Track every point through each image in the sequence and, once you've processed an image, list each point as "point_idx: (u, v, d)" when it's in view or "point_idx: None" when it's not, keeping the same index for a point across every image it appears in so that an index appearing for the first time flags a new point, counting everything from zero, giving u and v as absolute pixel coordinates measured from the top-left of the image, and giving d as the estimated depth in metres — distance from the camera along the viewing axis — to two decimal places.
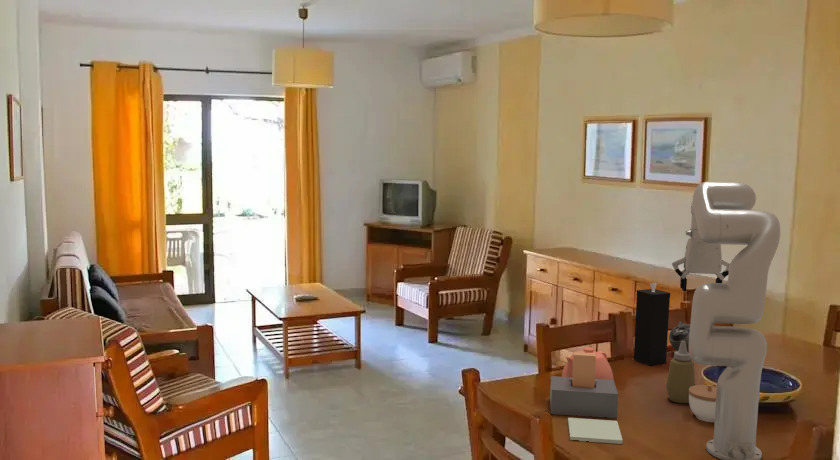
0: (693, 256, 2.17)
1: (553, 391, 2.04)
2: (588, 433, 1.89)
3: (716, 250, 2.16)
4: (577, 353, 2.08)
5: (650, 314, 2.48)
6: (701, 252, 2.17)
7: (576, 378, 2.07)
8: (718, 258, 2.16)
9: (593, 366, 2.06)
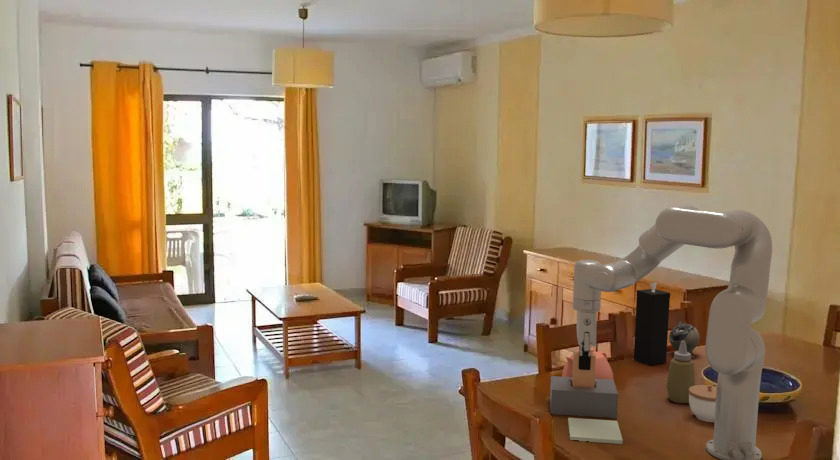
0: None
1: (553, 391, 2.04)
2: (588, 433, 1.89)
3: None
4: (577, 353, 2.08)
5: (650, 314, 2.48)
6: None
7: (576, 378, 2.07)
8: None
9: (593, 366, 2.06)
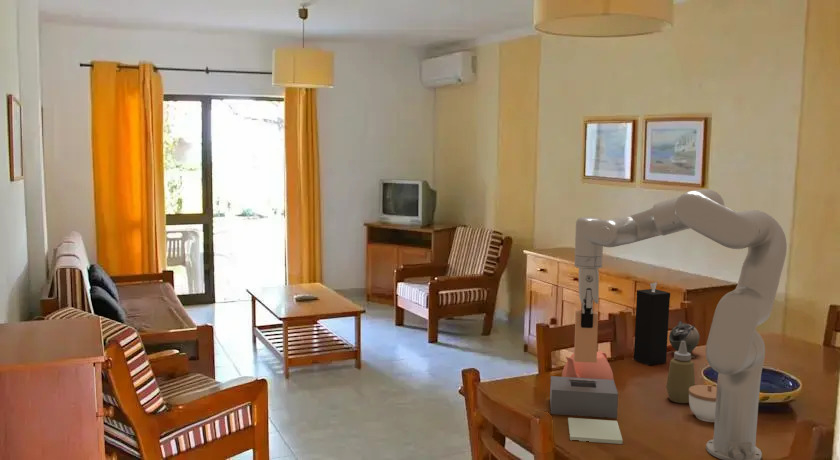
0: None
1: (553, 391, 2.04)
2: (588, 433, 1.89)
3: None
4: (579, 311, 2.06)
5: (650, 314, 2.48)
6: None
7: (578, 337, 2.05)
8: None
9: (595, 324, 2.04)
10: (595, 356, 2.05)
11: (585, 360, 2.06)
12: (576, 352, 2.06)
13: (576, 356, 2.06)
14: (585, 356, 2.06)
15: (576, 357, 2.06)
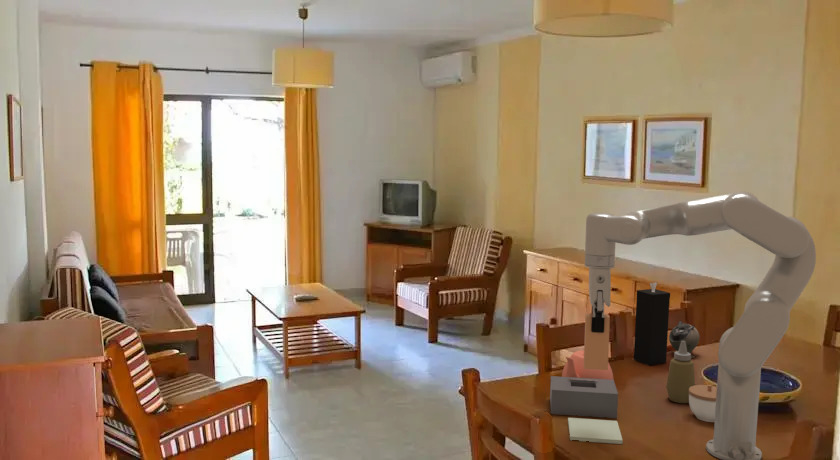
0: None
1: (553, 391, 2.04)
2: (588, 433, 1.89)
3: None
4: (589, 315, 1.91)
5: (650, 314, 2.48)
6: None
7: (588, 342, 1.90)
8: None
9: (607, 328, 1.89)
10: (606, 363, 1.90)
11: (595, 367, 1.91)
12: (586, 358, 1.91)
13: (586, 363, 1.91)
14: (596, 363, 1.91)
15: (586, 364, 1.91)
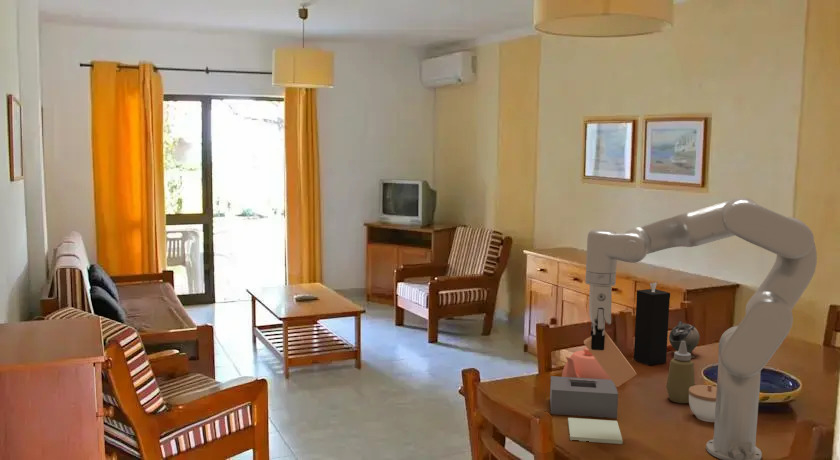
0: None
1: (553, 391, 2.04)
2: (588, 433, 1.89)
3: None
4: (587, 340, 1.90)
5: (650, 314, 2.48)
6: None
7: (603, 363, 1.88)
8: None
9: (609, 341, 1.87)
10: (631, 369, 1.87)
11: (625, 379, 1.88)
12: (612, 378, 1.88)
13: (615, 381, 1.88)
14: (623, 376, 1.88)
15: (615, 382, 1.88)
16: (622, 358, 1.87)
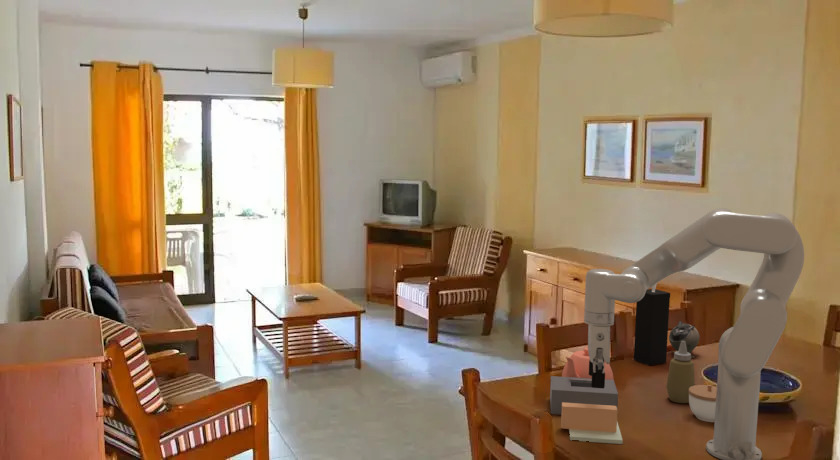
0: None
1: (553, 391, 2.04)
2: (588, 433, 1.89)
3: None
4: (561, 422, 1.94)
5: (650, 314, 2.48)
6: None
7: (588, 427, 1.91)
8: None
9: (574, 409, 1.91)
10: (610, 410, 1.90)
11: (614, 421, 1.90)
12: (605, 429, 1.90)
13: (610, 430, 1.90)
14: (610, 420, 1.90)
15: (611, 430, 1.90)
16: (595, 410, 1.90)
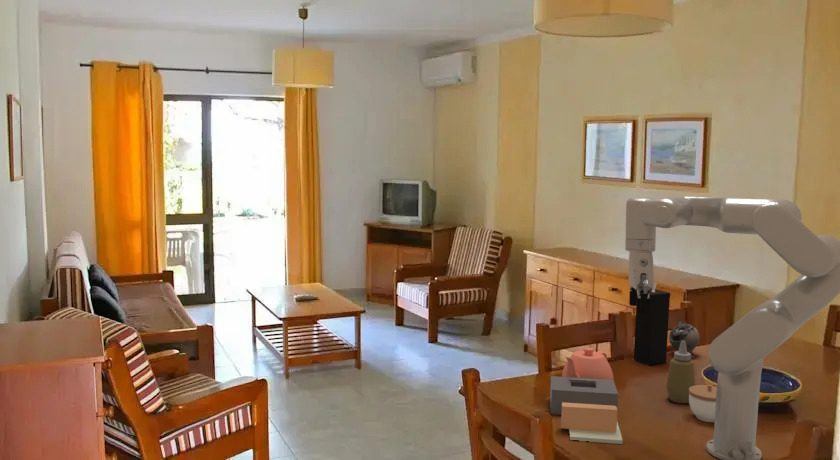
0: None
1: (553, 391, 2.04)
2: (588, 433, 1.89)
3: None
4: (561, 422, 1.94)
5: (650, 314, 2.48)
6: None
7: (588, 427, 1.91)
8: None
9: (574, 409, 1.91)
10: (610, 410, 1.90)
11: (614, 421, 1.90)
12: (605, 429, 1.90)
13: (610, 430, 1.90)
14: (610, 420, 1.90)
15: (611, 430, 1.90)
16: (595, 410, 1.90)
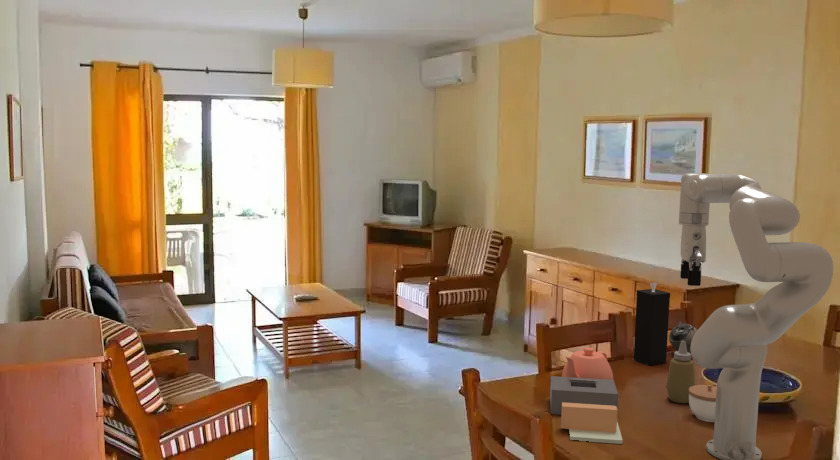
0: None
1: (553, 391, 2.04)
2: (588, 433, 1.89)
3: None
4: (561, 422, 1.94)
5: (650, 314, 2.48)
6: None
7: (588, 427, 1.91)
8: None
9: (574, 409, 1.91)
10: (610, 410, 1.90)
11: (614, 421, 1.90)
12: (605, 429, 1.90)
13: (610, 430, 1.90)
14: (610, 420, 1.90)
15: (611, 430, 1.90)
16: (595, 410, 1.90)
